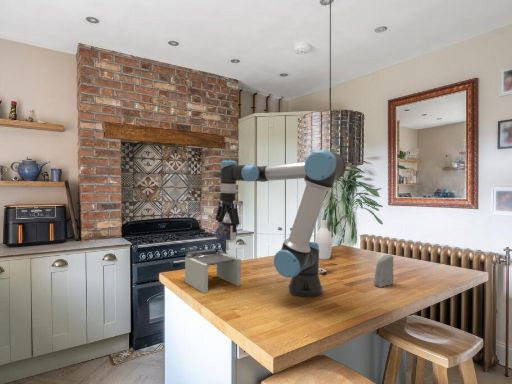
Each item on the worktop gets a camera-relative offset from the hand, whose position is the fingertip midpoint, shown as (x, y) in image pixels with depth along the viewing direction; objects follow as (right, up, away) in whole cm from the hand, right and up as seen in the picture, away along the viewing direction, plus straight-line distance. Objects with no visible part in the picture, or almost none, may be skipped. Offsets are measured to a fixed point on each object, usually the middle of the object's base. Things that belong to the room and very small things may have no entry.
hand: (226, 236), depth 153 cm
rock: (0, -1, +1) cm, 1 cm away
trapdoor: (-9, -16, +3) cm, 19 cm away
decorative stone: (+77, -24, +1) cm, 81 cm away
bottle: (+60, -23, +60) cm, 88 cm away
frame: (-7, -23, +1) cm, 24 cm away
